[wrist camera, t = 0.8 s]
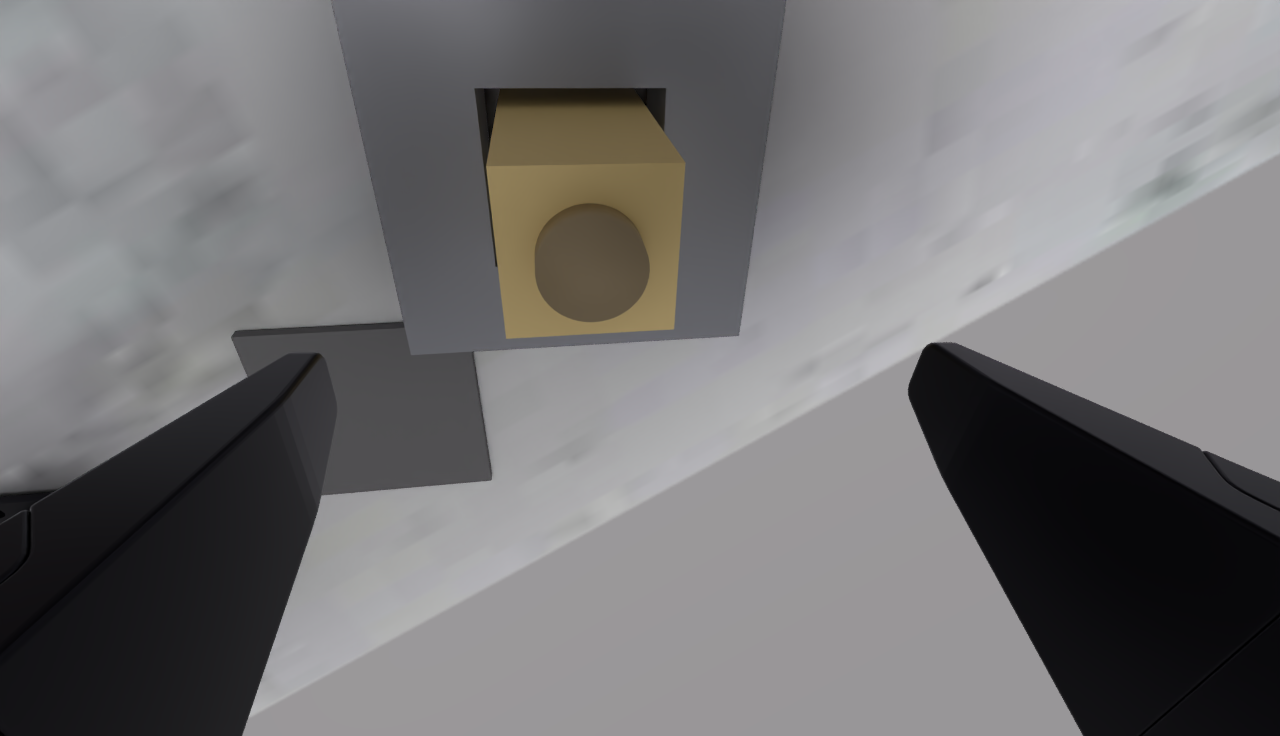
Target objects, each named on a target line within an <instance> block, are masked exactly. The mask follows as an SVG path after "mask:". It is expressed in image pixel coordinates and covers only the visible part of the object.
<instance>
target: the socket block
mask: <svg viewBox="0 0 1280 736" xmlns="http://www.w3.org/2000/svg"><path fill="white" fill-rule="evenodd" d="M331 3H332V7H333V12H334V16H335V20H336V25H337V29H338V34H339V38H340V43H341V47H342V51H343V56H344V60H345V65H346V69H347V74H348V78H349V82H350V87H351V91H352V96H353V100H354V105H355V109H356V113H357V118H358V122H359V127H360V131H361V136H362V140H363V144H364V149H365V153H366V158H367V162H368V167H369V171H370V175H371V180H372V184H373V189H374V193H375V198H376V202H377V206H378V211H379V215H380V220H381V224H382V229H383V233H384V237H385V242H386V246H387V251H388V255H389V260H390V264H391V268H392V273H393V277H394V282H395V286H396V291H397V295H398V299H399V304H400V308H401V313H402V317H403V322H404V326H405V330H406V335H407V339H408V344H409V348H410V353H411V355H423V354H440V353H457V352H474V351H490V350H507V349H524V348H541V347H558V346H575V345H592V344H609V343H626V342H642V341H659V340H676V339H693V338H710V337H727V336H739V332H740V325H741V318H742V310H743V303H744V296H745V289H746V282H747V275H748V268H749V261H750V254H751V247H752V240H753V233H754V226H755V218H756V211H757V204H758V197H759V190H760V183H761V176H762V169H763V162H764V155H765V148H766V141H767V133H768V126H769V119H770V112H771V105H772V98H773V91H774V84H775V77H776V70H777V63H778V56H779V49H780V41H781V34H782V27H783V20H784V13H785V6H786V0H331ZM484 88H648V92H647V108H648V110H649V111H650V113H651V114H652V116H653V117H654V118H655V120H656V121H657V123H658V124H659V126H660V127H661V128H662V130H663V131H664V133H665V134H666V136H667V137H668V138H669V140H670V141H671V143H672V144H673V146H674V147H675V148H676V150H677V151H678V153H679V154H680V156H681V157H682V158H683V160H684V161H685V177H684V192H683V206H682V221H681V235H680V250H679V264H678V279H677V293H676V308H675V323H674V329H672V330H654V331H637V332H619V333H601V334H583V335H565V336H548V337H530V338H512V339H506V333H505V325H504V316H503V307H502V299H501V290H500V282H499V273H498V264H497V256H496V247H495V238H494V230H493V221H492V213H491V204H490V195H489V187H488V178H487V170H486V164H487V158H488V153H489V147H490V142H489V133H488V124H487V115H486V106H485V97H484Z"/></svg>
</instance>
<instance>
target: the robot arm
mask: <svg viewBox="0 0 1280 736" xmlns="http://www.w3.org/2000/svg"><path fill="white" fill-rule="evenodd" d="M908 396H909V400H910V402H911V405H912V407H913V410H914V412H915V414H916V417H917V419H918V422H919V424H920V426H921V429H922V431H923V434H924V436H925V438H926V441H927V443H928V445H929V448H930V451H931V453H932V455H933V458H934V460H935V462H936V464H937V467H938V469H939V471H940V474H941V476H942V478H943V480H944V482H945V484H946V486H947V488H948V490H949V492H950V493H951V495H952V497H953V499H954V501H955V503H956V504H957V506H958V508H959V510H960V512H961V513H962V515H963V517H964V519H965V521H966V522H967V524H968V526H969V528H970V530H971V532H972V534H973V535H974V537H975V539H976V541H977V543H978V545H979V546H980V548H981V550H982V552H983V553H984V555H985V557H986V559H987V561H988V563H989V564H990V567H991V568H992V570H993V572H994V573H995V576H996V577H997V579H998V581H999V583H1000V585H1001V586H1002V588H1003V590H1004V592H1005V594H1006V596H1007V598H1008V599H1009V601H1010V603H1011V605H1012V607H1013V609H1014V610H1015V612H1016V614H1017V616H1018V618H1019V620H1020V621H1021V623H1022V625H1023V627H1024V629H1025V630H1026V632H1027V634H1028V636H1029V638H1030V640H1031V641H1032V643H1033V645H1034V647H1035V649H1036V651H1037V652H1038V654H1039V656H1040V658H1041V659H1042V661H1043V663H1044V665H1045V667H1046V669H1047V671H1048V673H1049V674H1050V676H1051V678H1052V680H1053V682H1054V683H1055V685H1056V687H1057V689H1058V691H1059V693H1060V694H1061V696H1062V698H1063V700H1064V702H1065V703H1066V705H1067V707H1068V709H1069V711H1070V713H1071V715H1072V716H1073V718H1074V720H1075V722H1076V724H1077V725H1078V727H1079V729H1080V731H1081V733H1082V735H1083V736H1280V482H1279V481H1276V480H1274V479H1272V478H1269V477H1267V476H1264V475H1262V474H1259V473H1257V472H1255V471H1252V470H1250V469H1247V468H1245V467H1243V466H1240V465H1238V464H1236V463H1233V462H1231V461H1229V460H1226V459H1224V458H1222V457H1219V456H1217V455H1215V454H1212V453H1210V452H1208V451H1203V452H1202V451H1201V449H1200V448H1198V447H1196V446H1193V445H1191V444H1189V443H1187V442H1184V441H1182V440H1180V439H1177V438H1175V437H1173V436H1170V435H1168V434H1165V433H1164V432H1161V431H1159V430H1156V429H1154V428H1152V427H1150V426H1147V425H1145V424H1143V423H1140V422H1138V421H1136V420H1133V419H1131V418H1129V417H1126V416H1124V415H1122V414H1119V413H1117V412H1115V411H1112V410H1110V409H1108V408H1106V407H1103V406H1100V405H1098V404H1096V403H1094V402H1092V401H1089V400H1087V399H1085V398H1082V397H1080V396H1078V395H1075V394H1073V393H1071V392H1068V391H1066V390H1064V389H1061V388H1059V387H1057V386H1054V385H1052V384H1050V383H1047V382H1045V381H1043V380H1040V379H1038V378H1036V377H1034V376H1031V375H1029V374H1026V373H1024V372H1022V371H1020V370H1017V369H1015V368H1013V367H1010V366H1008V365H1006V364H1003V363H1001V362H999V361H996V360H994V359H992V358H989V357H987V356H985V355H982V354H980V353H978V352H975V351H973V350H971V349H968V348H966V347H964V346H962V345H959V344H957V343H952V342H943V343H930V344H928V345H927V346H926V347H925V348H924V349H923V351H922V353H921V356H920V358H919V360H918V363H917V365H916V368H915V370H914V373H913V375H912V378H911V380H910V383H909V387H908ZM336 419H337V400H336V396H335V392H334V389H333V385H332V381H331V377H330V374H329V370H328V366H327V363H326V360H325V358H324V357H323V355H321V354H320V353H318V352H296V353H288V354H286V355H284V356H282V357H280V358H279V359H277V360H275V361H274V362H272V363H270V364H269V365H267V366H265V367H264V368H262V369H260V370H259V371H257V372H255V373H254V374H252V375H250V376H249V377H247V378H245V379H243V380H242V381H240V382H238V383H237V384H235V385H233V386H232V387H230V388H228V389H227V390H225V391H223V392H222V393H220V394H218V395H217V396H215V397H213V398H211V399H210V400H208V401H206V402H205V403H203V404H201V405H200V406H198V407H196V408H195V409H193V410H191V411H190V412H188V413H186V414H185V415H183V416H181V417H179V418H178V419H176V420H174V421H173V422H171V423H169V424H168V425H166V426H164V427H163V428H161V429H159V430H158V431H156V432H154V433H153V434H151V435H149V436H147V437H146V438H144V439H142V440H141V441H139V442H137V443H136V444H134V445H132V446H131V447H129V448H127V449H126V450H124V451H122V452H121V453H119V454H117V455H115V456H114V457H112V458H110V459H109V460H107V461H105V462H104V463H102V464H100V465H99V466H97V467H95V468H94V469H92V470H90V471H89V472H87V473H85V474H83V475H82V476H80V477H78V478H77V479H75V480H73V481H72V482H70V483H68V484H67V485H65V486H63V487H62V488H60V489H58V490H57V491H55V492H52V493H40V494H28V495H16V496H4V497H0V736H242V734H243V731H244V729H245V726H246V722H247V720H248V717H249V714H250V711H251V708H252V705H253V702H254V699H255V696H256V693H257V690H258V687H259V684H260V681H261V678H262V675H263V672H264V669H265V667H266V664H267V661H268V658H269V655H270V652H271V649H272V646H273V643H274V640H275V637H276V634H277V631H278V628H279V625H280V622H281V619H282V616H283V613H284V610H285V608H286V605H287V602H288V599H289V596H290V593H291V590H292V587H293V584H294V581H295V578H296V575H297V572H298V569H299V566H300V563H301V560H302V557H303V554H304V551H305V549H306V546H307V543H308V540H309V537H310V534H311V531H312V528H313V525H314V521H315V518H316V515H317V512H318V508H319V503H320V499H321V494H322V489H323V484H324V479H325V474H326V469H327V464H328V459H329V454H330V449H331V444H332V439H333V434H334V429H335V424H336Z"/></svg>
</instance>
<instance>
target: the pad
mask: <svg viewBox="0 0 1280 736" xmlns="http://www.w3.org/2000/svg"><path fill="white" fill-rule="evenodd" d="M231 338H232V341H233V343H234V346H235V348H236V350H237V353H238V355H239V357H240V360H241V362H242V365H243V367H244V369H245V372H246V374H247V376H248V377H249V376H250V375H252V374H254V373H255V372H257V371H259V370H260V369H262V368H264V367H265V366H267V365H269V364H270V363H272V362H274V361H275V360H277V359H279V358H280V357H282V356H284V355H286V354H288V353H296V352H318V353H320V354H321V355H323V357H324V358H325V360H326V363H327V366H328V370H329V374H330V377H331V381H332V385H333V389H334V392H335V396H336V400H337V419H336V424H335V429H334V434H333V439H332V444H331V449H330V454H329V459H328V464H327V469H326V474H325V479H324V484H323V489H322V494H321V495H331V494H342V493H354V492H365V491H376V490H388V489H399V488H411V487H422V486H433V485H445V484H456V483H467V482H479V481H490V480H492V472H491V465H490V459H489V452H488V446H487V439H486V433H485V427H484V420H483V414H482V407H481V401H480V394H479V388H478V382H477V375H476V369H475V362H474V356H473V352H457V353H440V354H423V355H411V353H410V348H409V344H408V339H407V335H406V330H405V326H404V323H385V324H365V325H346V326H327V327H308V328H288V329H269V330H250V331H235V332H234V334H233V335H232V337H231Z"/></svg>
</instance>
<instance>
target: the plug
mask: <svg viewBox="0 0 1280 736" xmlns="http://www.w3.org/2000/svg"><path fill="white" fill-rule="evenodd" d="M486 170H487V178H488V187H489V195H490V204H491V213H492V221H493V230H494V238H495V247H496V256H497V264H498V273H499V282H500V290H501V299H502V307H503V316H504V325H505V333H506V339H512V338H530V337H548V336H565V335H583V334H601V333H619V332H637V331H654V330H672V329H674V323H675V308H676V293H677V279H678V264H679V250H680V235H681V221H682V206H683V192H684V177H685V161H684V160H683V158H682V157H681V156H680V154H679V153H678V151H677V150H676V148H675V147H674V146H673V144H672V143H671V141H670V140H669V138H668V137H667V136H666V134H665V133H664V131H663V130H662V128H661V127H660V126H659V124H658V123H657V121H656V120H655V118H654V117H653V116H652V114H651V113H650V111H649V110H648V108H647V107H646V106H645V104H644V103H643V101H642V100H641V98H640V97H639V96H638V94H637V93H636V91H635V90H634V88H500V91H499V96H498V102H497V108H496V113H495V119H494V125H493V130H492V136H491V142H490V147H489V153H488V158H487V164H486Z"/></svg>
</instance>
